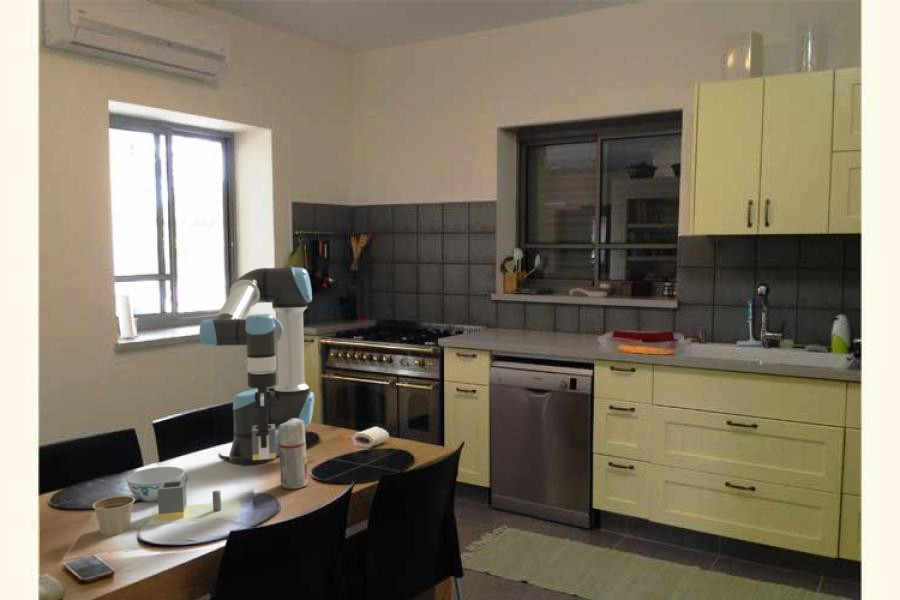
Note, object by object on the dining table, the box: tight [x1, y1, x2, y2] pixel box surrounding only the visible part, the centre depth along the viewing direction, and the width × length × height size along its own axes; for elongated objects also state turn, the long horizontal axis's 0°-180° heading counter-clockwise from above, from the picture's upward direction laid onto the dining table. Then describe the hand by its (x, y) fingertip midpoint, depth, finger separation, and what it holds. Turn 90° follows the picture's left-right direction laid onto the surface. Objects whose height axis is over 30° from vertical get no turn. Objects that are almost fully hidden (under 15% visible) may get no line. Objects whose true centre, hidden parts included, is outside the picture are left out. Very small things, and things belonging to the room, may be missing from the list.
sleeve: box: [252, 424, 277, 460], centre depth 189 cm, size 6×6×8 cm
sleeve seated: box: [157, 479, 188, 520], centre depth 181 cm, size 6×6×8 cm
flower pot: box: [92, 495, 136, 537], centre depth 171 cm, size 9×9×9 cm
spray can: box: [277, 418, 309, 490], centre depth 207 cm, size 8×8×20 cm
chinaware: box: [126, 466, 185, 503], centre depth 195 cm, size 15×15×8 cm
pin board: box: [146, 490, 241, 527], centre depth 183 cm, size 12×22×6 cm, turn 104°
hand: (264, 455), depth 189 cm, fingers closed on sleeve, 6 cm apart
